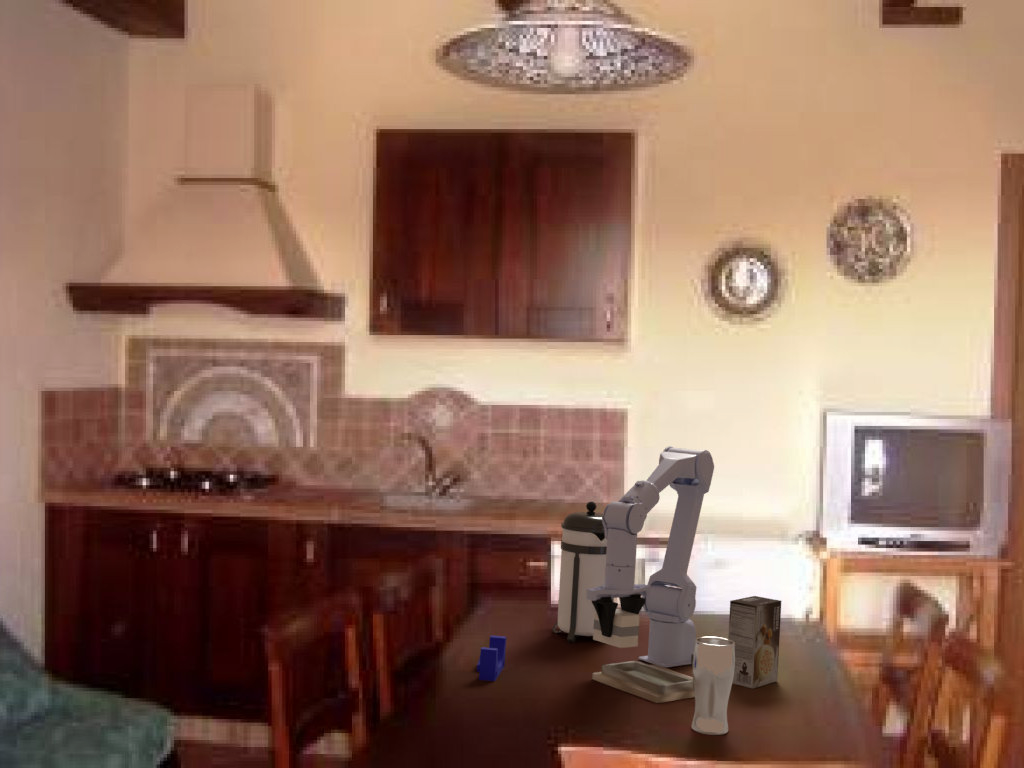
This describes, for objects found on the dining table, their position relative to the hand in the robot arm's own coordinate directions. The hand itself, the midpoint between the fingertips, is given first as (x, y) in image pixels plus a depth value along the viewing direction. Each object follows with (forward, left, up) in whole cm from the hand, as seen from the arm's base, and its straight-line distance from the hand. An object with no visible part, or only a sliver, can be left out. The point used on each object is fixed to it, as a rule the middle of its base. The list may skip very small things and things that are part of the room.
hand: (616, 634), depth 239 cm
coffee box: (-24, +14, -9) cm, 29 cm away
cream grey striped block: (0, 0, -2) cm, 2 cm away
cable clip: (+20, -14, -9) cm, 26 cm away
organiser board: (-4, +8, -8) cm, 12 cm away
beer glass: (+7, +33, -9) cm, 35 cm away
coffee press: (-18, -31, -9) cm, 37 cm away
